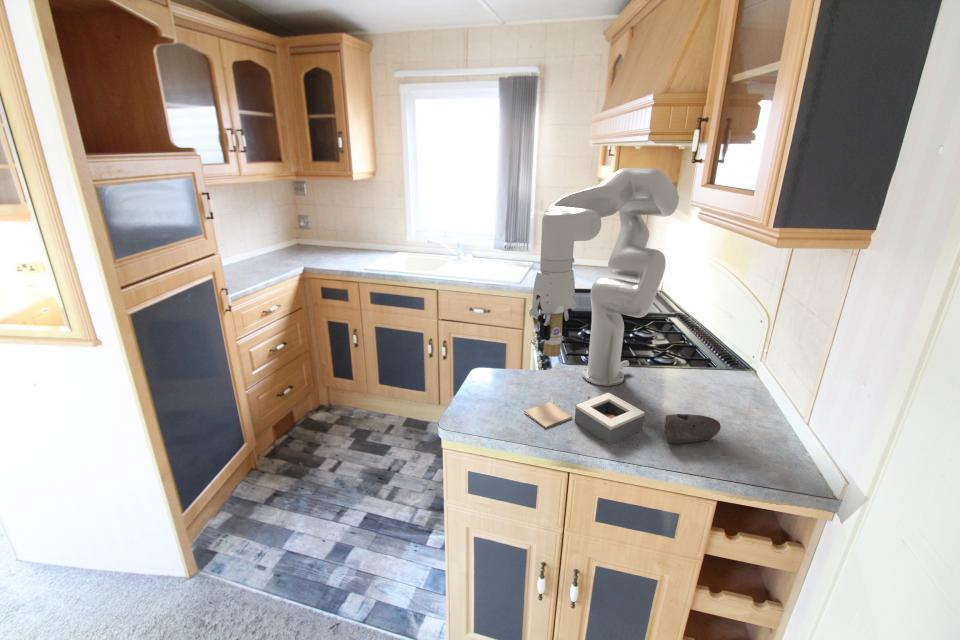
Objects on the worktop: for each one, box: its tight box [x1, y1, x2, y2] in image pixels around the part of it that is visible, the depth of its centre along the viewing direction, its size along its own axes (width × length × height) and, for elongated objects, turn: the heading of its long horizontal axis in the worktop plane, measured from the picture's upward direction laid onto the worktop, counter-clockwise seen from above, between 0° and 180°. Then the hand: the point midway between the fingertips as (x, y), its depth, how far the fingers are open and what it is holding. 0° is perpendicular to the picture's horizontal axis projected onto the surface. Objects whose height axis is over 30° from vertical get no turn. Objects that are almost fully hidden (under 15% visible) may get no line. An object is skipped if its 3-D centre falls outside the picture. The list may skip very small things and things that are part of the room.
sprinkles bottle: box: [542, 306, 564, 358], centre depth 114 cm, size 5×5×14 cm
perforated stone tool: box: [664, 413, 722, 444], centre depth 111 cm, size 15×5×7 cm, turn 95°
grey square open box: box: [574, 392, 646, 446], centre depth 117 cm, size 12×12×5 cm
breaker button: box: [602, 413, 617, 419], centre depth 118 cm, size 5×5×2 cm
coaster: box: [523, 401, 573, 429], centre depth 123 cm, size 9×9×1 cm
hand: (552, 335), depth 115 cm, fingers closed on sprinkles bottle, 4 cm apart
